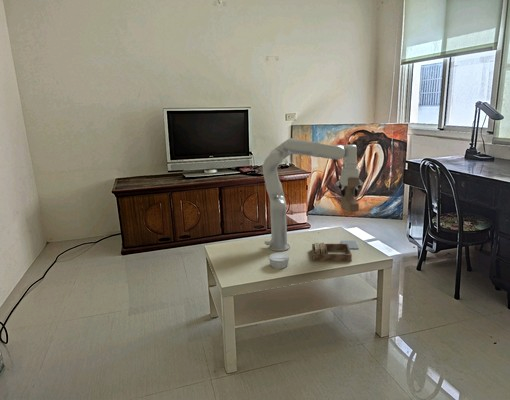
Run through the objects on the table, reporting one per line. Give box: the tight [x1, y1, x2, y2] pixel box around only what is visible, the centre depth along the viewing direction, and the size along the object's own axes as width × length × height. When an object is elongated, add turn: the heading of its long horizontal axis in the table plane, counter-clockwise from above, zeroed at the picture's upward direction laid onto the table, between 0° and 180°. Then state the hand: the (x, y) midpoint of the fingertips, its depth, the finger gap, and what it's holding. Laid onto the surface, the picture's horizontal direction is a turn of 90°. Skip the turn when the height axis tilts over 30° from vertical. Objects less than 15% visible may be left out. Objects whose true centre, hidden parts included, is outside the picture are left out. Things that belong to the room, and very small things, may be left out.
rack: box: [311, 243, 353, 262], centre depth 207 cm, size 21×17×4 cm
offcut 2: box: [319, 242, 325, 254], centre depth 207 cm, size 2×10×6 cm, turn 174°
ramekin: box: [268, 252, 290, 270], centre depth 197 cm, size 11×11×5 cm
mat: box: [340, 240, 359, 250], centre depth 221 cm, size 9×13×1 cm
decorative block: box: [340, 177, 360, 213], centre depth 212 cm, size 11×6×20 cm, turn 17°
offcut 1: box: [314, 242, 320, 254], centre depth 208 cm, size 2×10×6 cm, turn 174°
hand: (349, 195), depth 213 cm, fingers closed on decorative block, 6 cm apart
